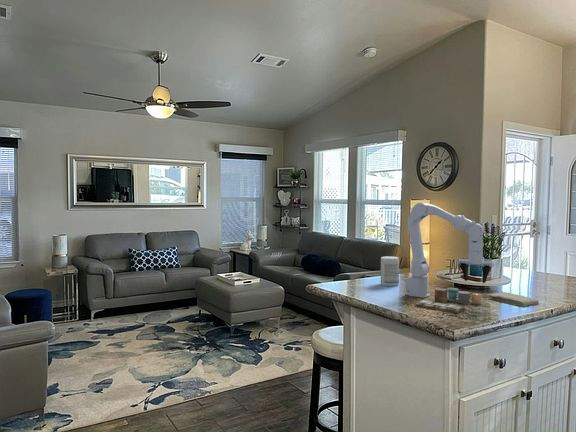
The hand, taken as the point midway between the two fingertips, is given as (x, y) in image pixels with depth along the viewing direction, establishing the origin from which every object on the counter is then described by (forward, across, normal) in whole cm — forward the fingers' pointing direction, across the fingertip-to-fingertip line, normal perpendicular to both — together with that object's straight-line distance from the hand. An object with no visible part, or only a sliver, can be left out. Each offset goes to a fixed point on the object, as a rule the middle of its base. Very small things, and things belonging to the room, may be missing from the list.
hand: (475, 281), depth 189 cm
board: (+10, +8, +19) cm, 23 cm away
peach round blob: (+10, -1, 0) cm, 10 cm away
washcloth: (+10, -12, -16) cm, 22 cm away
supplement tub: (+10, +47, -11) cm, 50 cm away
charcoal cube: (+10, +4, +2) cm, 11 cm away
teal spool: (+10, +10, +1) cm, 13 cm away
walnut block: (+10, +11, +10) cm, 18 cm away
